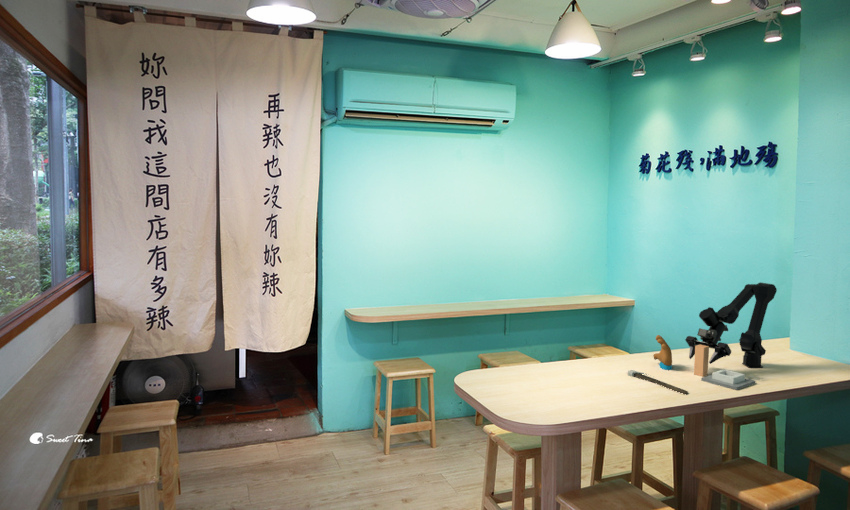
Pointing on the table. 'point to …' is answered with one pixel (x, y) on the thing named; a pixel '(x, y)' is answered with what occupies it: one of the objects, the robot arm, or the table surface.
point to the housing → (728, 379)
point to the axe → (655, 381)
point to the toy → (664, 354)
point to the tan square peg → (701, 360)
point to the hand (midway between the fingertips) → (699, 360)
